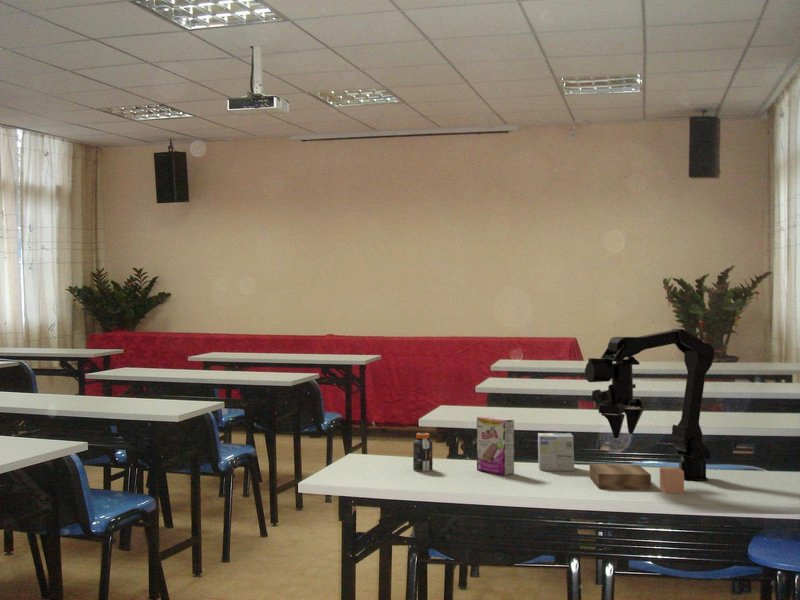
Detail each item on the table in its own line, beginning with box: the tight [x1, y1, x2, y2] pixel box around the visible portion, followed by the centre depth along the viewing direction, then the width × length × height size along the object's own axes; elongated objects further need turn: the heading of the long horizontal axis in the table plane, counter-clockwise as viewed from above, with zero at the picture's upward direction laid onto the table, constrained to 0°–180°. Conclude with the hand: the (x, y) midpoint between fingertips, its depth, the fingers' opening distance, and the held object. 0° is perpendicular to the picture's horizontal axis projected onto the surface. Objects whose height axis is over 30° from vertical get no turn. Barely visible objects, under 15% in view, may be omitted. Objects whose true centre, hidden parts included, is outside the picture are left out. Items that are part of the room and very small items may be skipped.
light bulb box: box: [537, 432, 575, 472], centre depth 240 cm, size 11×7×11 cm, turn 84°
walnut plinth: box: [589, 463, 652, 490], centre depth 219 cm, size 14×14×4 cm
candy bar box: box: [476, 415, 515, 476], centre depth 235 cm, size 11×5×16 cm, turn 43°
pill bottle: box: [412, 432, 434, 472], centre depth 238 cm, size 6×6×11 cm
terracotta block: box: [659, 466, 685, 494], centre depth 209 cm, size 5×5×6 cm
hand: (623, 435), depth 220 cm, fingers open, 9 cm apart
